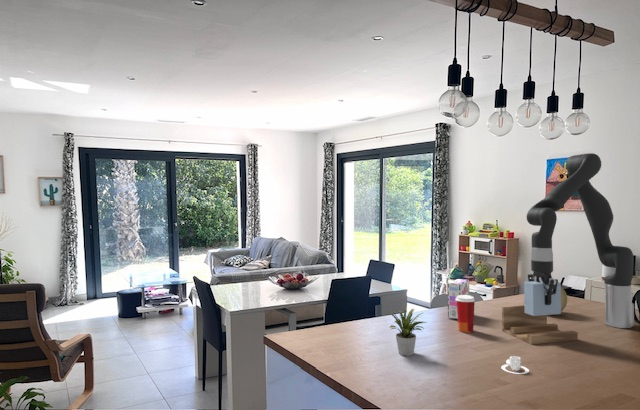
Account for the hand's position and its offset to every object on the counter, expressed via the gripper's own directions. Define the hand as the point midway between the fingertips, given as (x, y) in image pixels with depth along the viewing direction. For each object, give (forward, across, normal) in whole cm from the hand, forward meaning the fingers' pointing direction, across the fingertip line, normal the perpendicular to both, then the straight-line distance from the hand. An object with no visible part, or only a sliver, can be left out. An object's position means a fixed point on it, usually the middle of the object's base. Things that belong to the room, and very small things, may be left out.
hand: (542, 303), depth 163 cm
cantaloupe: (+13, +30, -28) cm, 43 cm away
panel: (+4, 0, 0) cm, 4 cm away
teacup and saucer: (+14, -25, +28) cm, 40 cm away
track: (+13, +2, 0) cm, 13 cm away
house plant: (+14, -4, +59) cm, 61 cm away
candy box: (+14, +36, +15) cm, 41 cm away
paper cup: (+14, +15, +24) cm, 31 cm away
